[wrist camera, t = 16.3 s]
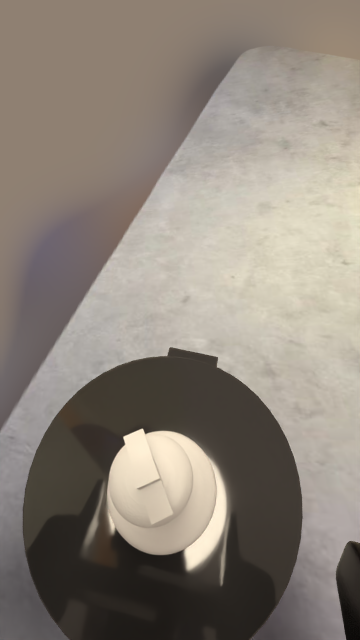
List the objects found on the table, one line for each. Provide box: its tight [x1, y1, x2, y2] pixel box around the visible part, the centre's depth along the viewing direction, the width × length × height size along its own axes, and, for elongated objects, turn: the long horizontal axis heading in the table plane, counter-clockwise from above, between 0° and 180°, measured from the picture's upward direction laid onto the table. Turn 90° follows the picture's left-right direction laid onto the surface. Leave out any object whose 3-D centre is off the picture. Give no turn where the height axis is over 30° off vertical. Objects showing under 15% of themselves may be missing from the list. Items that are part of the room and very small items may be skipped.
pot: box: [23, 347, 302, 640], centre depth 17 cm, size 15×13×5 cm
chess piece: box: [107, 429, 217, 555], centre depth 10 cm, size 5×5×10 cm
